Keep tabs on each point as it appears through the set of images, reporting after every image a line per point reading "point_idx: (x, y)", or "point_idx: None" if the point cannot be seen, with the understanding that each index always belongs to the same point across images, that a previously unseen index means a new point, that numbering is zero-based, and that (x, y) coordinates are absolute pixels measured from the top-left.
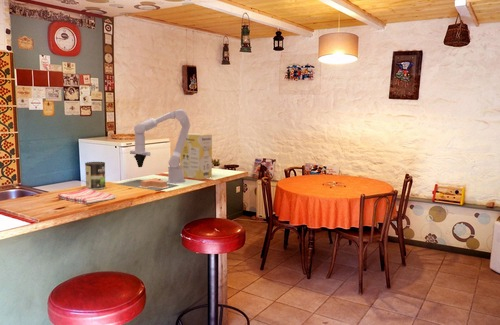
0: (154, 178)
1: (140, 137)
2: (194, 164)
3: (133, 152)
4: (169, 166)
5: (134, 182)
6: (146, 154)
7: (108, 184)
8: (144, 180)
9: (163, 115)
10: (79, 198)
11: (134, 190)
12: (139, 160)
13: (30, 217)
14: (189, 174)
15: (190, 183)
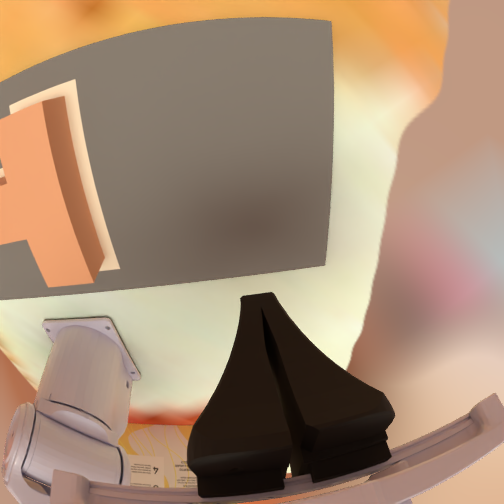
0: (88, 271)
1: None
2: (136, 479)
3: (438, 463)
4: (99, 428)
5: (257, 166)
6: (117, 501)
7: (382, 8)
8: (261, 272)
9: None
10: None
11: (19, 5)
12: (235, 371)
13: None
14: (168, 437)
15: (36, 362)
